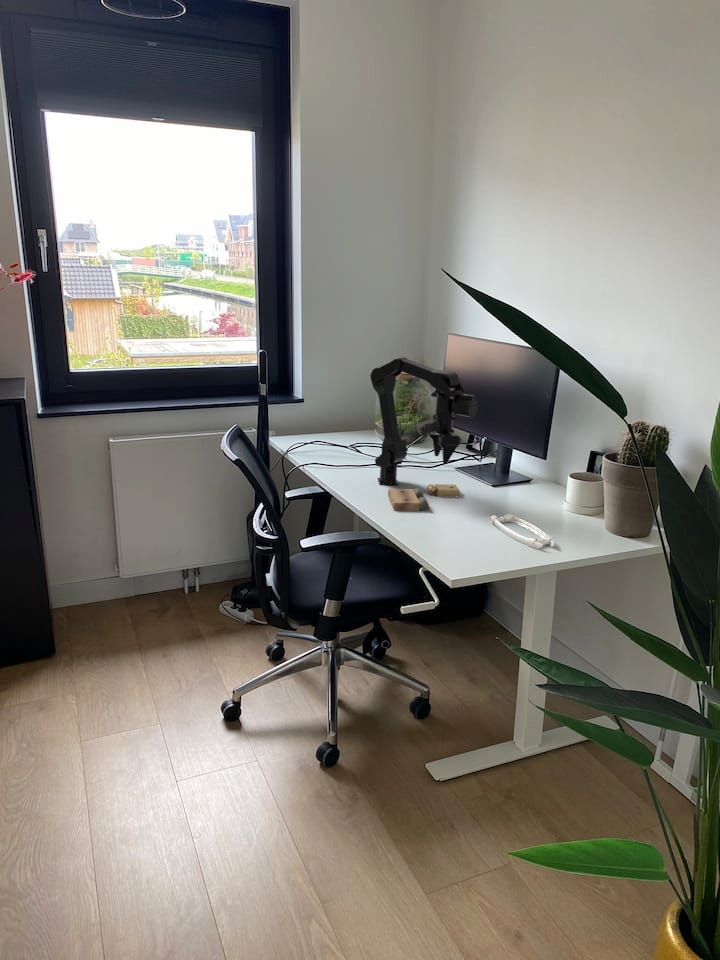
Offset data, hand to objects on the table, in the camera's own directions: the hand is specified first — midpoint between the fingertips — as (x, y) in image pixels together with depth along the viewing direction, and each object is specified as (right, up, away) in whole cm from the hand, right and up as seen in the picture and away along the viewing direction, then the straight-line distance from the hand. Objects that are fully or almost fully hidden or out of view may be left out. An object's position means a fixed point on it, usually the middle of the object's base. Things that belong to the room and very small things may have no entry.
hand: (440, 459), depth 233 cm
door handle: (+20, -22, -26) cm, 40 cm away
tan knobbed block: (+1, -11, +6) cm, 13 cm away
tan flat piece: (-11, -14, -5) cm, 18 cm away
